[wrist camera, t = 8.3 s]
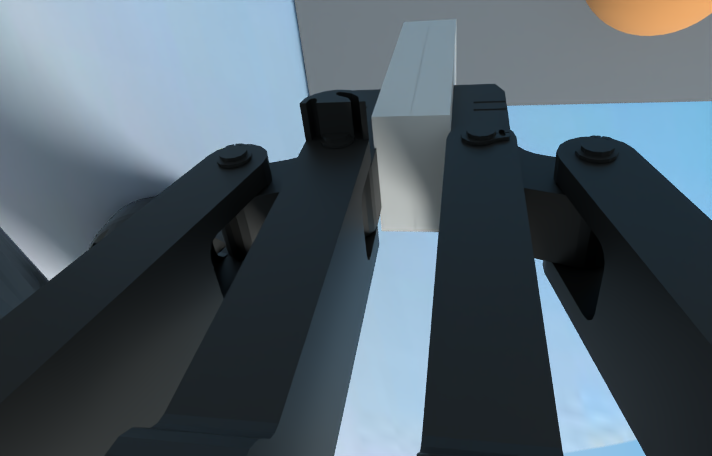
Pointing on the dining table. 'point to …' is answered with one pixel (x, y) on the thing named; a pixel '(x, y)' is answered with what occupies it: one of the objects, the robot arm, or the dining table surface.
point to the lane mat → (510, 50)
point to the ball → (650, 14)
